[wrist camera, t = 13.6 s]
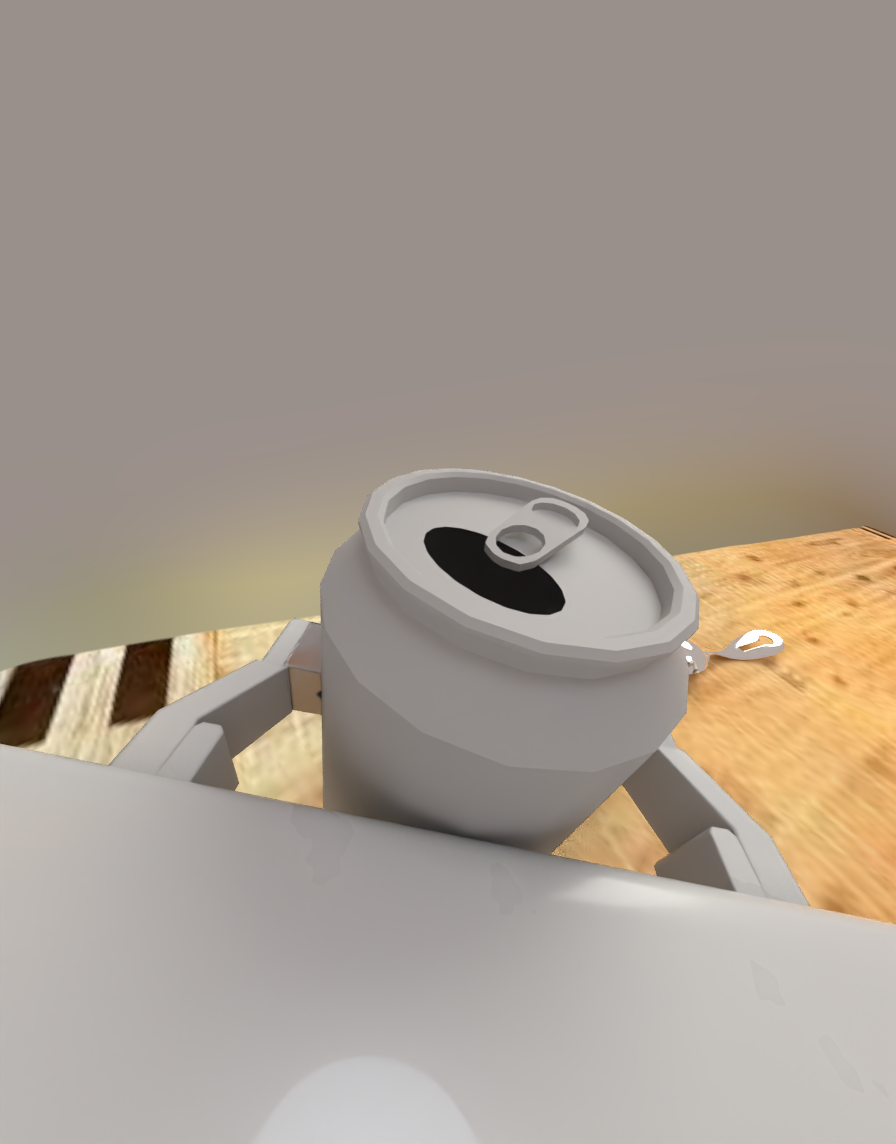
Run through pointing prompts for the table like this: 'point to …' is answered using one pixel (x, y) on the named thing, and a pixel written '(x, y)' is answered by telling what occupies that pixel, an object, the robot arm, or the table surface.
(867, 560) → the table surface
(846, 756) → the table surface
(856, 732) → the table surface
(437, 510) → the can
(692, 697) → the table surface
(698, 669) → the silver spoon
